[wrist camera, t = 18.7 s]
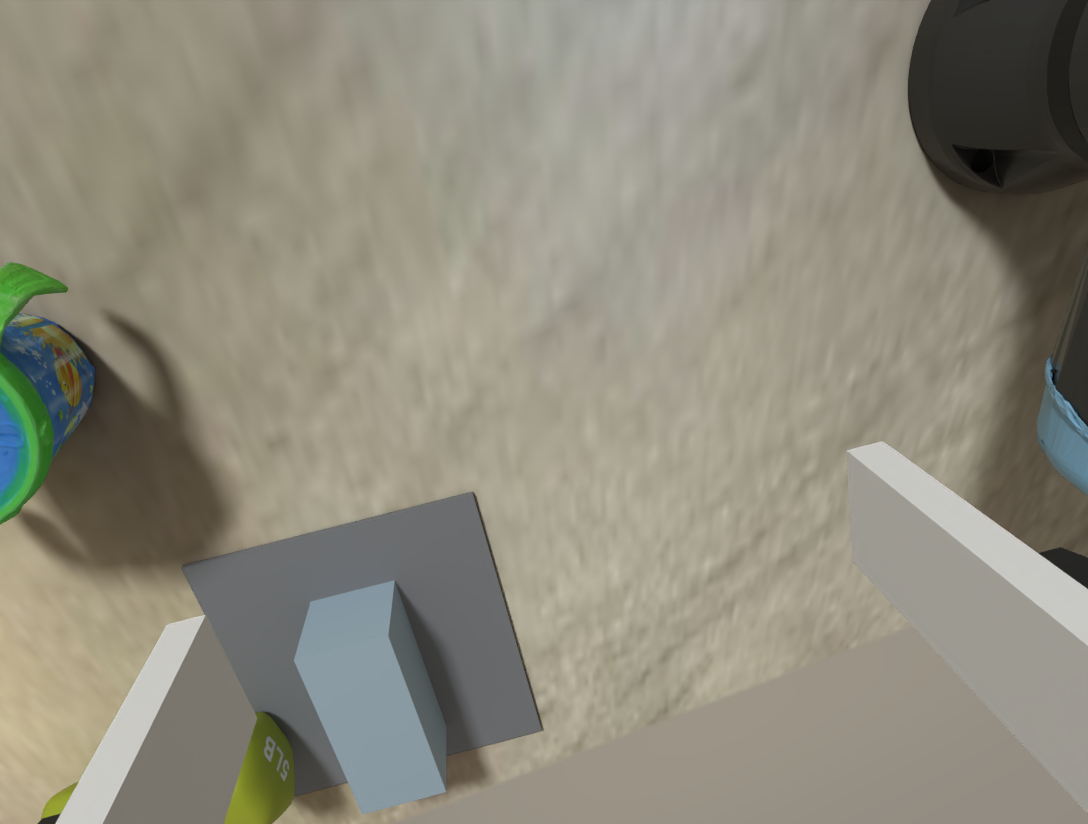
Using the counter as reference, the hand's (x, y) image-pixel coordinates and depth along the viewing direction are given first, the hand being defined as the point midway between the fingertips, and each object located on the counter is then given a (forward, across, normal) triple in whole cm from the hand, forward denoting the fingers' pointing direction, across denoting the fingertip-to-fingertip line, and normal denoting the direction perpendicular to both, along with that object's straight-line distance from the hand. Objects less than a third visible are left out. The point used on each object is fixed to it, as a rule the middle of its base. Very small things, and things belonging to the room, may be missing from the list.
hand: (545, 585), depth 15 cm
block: (+28, -14, -33) cm, 46 cm away
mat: (+32, -14, -25) cm, 43 cm away
